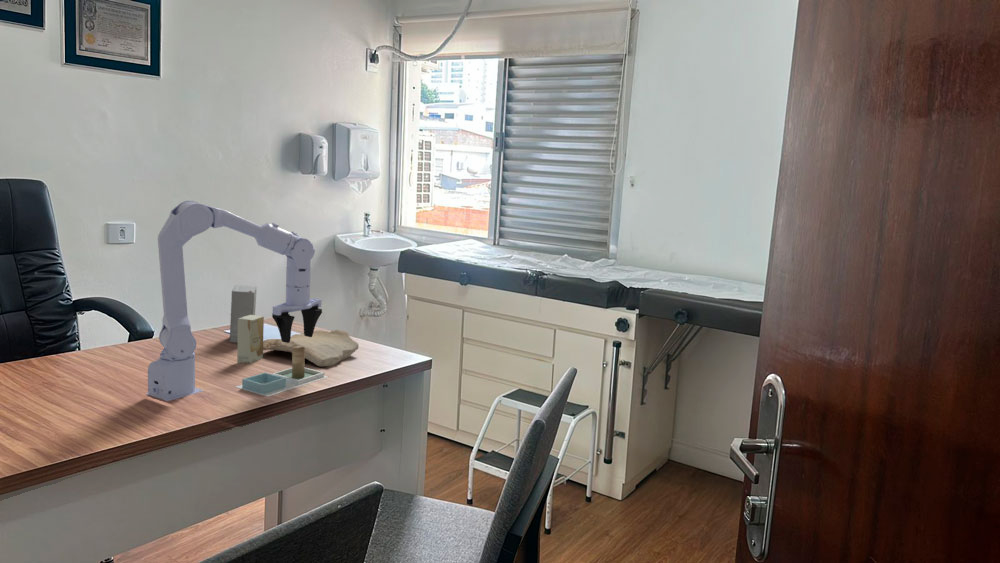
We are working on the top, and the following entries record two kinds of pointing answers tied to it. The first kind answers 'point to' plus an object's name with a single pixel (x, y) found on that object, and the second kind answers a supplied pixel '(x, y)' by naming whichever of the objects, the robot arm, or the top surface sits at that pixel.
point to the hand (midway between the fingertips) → (297, 339)
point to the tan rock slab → (318, 346)
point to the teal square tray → (271, 385)
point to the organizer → (293, 380)
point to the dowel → (298, 362)
